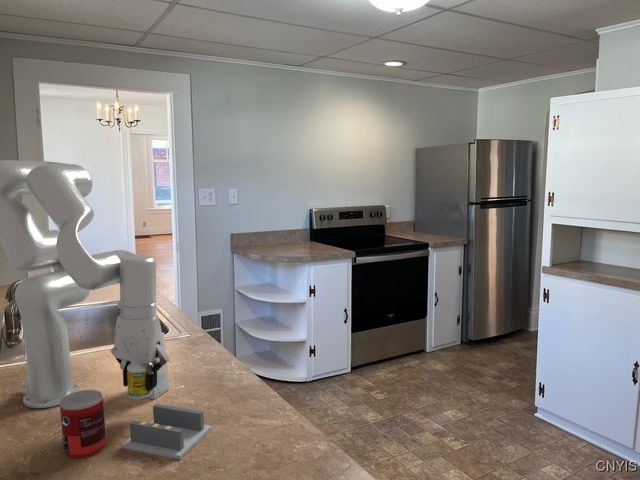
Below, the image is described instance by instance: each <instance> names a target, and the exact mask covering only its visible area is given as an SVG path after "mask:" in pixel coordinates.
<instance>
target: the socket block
mask: <svg viewBox="0 0 640 480" xmlns="http://www.w3.org/2000/svg"><path fill="white" fill-rule="evenodd" d="M152 412H153V415H152V416H153V420H151V421H150V422H147V421H138V420H132V421H130V422H129V424H128V425H129V434H130V435H129V436H130V437H129V438H128V439H127V440H126V441H124V442H123V443H122V444H121V449H124V450H130V451H134V452H138V453H139V452H140V453H145V454H150V455H155V456H160V457H166V458H170V459H174V460H180V461H181V460H182V459H183V458H184V457H185V456H186V455H187V454H188V453H189V452H190V451H191V450H192V449H193V448H194V447H196V445H197V444H199V442H201V440H203V439H204V438H205V436H207V434H209V432H211V431H212V430H213V425H211V424H210V425H209V424H205V419H204V417H205V416H204V411H203V410H197V409H191V408H185V407H180V406H179V407H178V406H173V405H168V404H167V405H166V404H160V403H156V404H154V405H153V406H152Z"/></svg>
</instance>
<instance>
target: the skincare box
mask: <svg viewBox="0 0 640 480" xmlns="http://www.w3.org/2000/svg"><path fill="white" fill-rule="evenodd" d="M165 339H166V338H165V332H162V344H163V351H164V352H165V354H166V355H167V350H166V340H165ZM157 360H158V362H159V361H160V359H159V358H157ZM151 364H152V362H151ZM152 367H153V364H152ZM168 390H170V382H169V371H168V362H167V363H166V364H165V365H163V366H162V367H161V368H160V369H159V370H158V371H157V386H156V387H155V388H153V392H152V394H151V395H150V396H148V397H146V398H145V399H149V400H156V399H158V398H159V397H160V396H161V395H163V394H165V392H167V391H168Z"/></svg>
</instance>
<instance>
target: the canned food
mask: <svg viewBox="0 0 640 480" xmlns="http://www.w3.org/2000/svg"><path fill="white" fill-rule="evenodd" d="M104 410H105V408H104V397H103V394H102V392H100V391H98V390H94V389H91V390H90V389H88V390H87V389H85V390H80V391H78V392H74V393H71V394H69V395H67V396H65V397H64V398H62V399H61V401H60V405H59V411H60V412H59V413H60V420H61V421H60V422H61V430H62V431H61V433H62V443H63V451H64V453H65V455H66V456H67V457H69V458H72V459H82V458H87V457H88V458H89V457H91V456H94V455H96V454H98V453H100V452H101V451H102V450H103V449H104V448H105V445H106V443H107V442H106V441H107V436H106V422H105V411H104Z"/></svg>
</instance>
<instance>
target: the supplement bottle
mask: <svg viewBox="0 0 640 480" xmlns="http://www.w3.org/2000/svg"><path fill="white" fill-rule="evenodd" d="M130 362H131V361H130ZM151 365H152V364H151ZM146 374H148V372H147V368H146V365H145V364H141V363H136V362H131V363H130V364H129V365H128V367H127V379H128V386H127V396H128V397H129V398H130V399H134V400H142V399H147V398H146V397H148V396H150V395H151V394H152V392H153V389H152V390H150V391H146Z"/></svg>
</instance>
